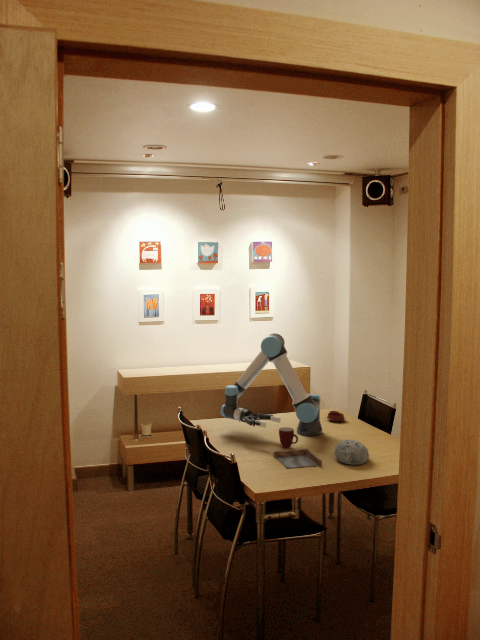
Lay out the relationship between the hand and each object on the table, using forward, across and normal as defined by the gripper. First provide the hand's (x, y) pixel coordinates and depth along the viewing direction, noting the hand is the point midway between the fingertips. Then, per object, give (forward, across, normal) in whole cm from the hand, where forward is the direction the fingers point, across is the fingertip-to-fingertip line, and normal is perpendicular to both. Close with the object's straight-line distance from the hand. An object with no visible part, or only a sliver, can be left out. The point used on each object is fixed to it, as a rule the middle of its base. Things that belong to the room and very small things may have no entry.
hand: (272, 422), depth 306 cm
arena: (+27, +16, -12) cm, 34 cm away
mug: (+11, 0, -12) cm, 16 cm away
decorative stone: (+46, -6, -11) cm, 48 cm away
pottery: (-1, -70, -12) cm, 71 cm away
